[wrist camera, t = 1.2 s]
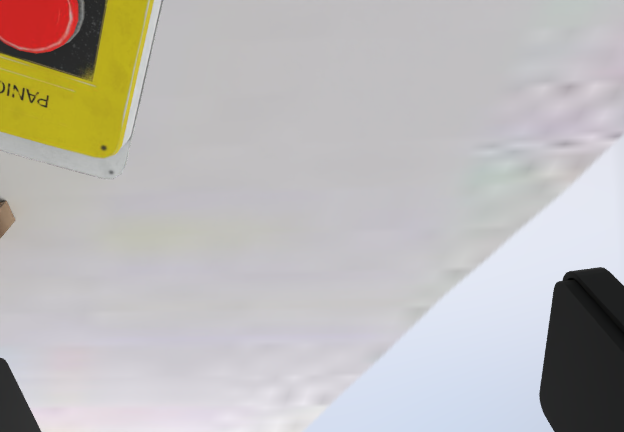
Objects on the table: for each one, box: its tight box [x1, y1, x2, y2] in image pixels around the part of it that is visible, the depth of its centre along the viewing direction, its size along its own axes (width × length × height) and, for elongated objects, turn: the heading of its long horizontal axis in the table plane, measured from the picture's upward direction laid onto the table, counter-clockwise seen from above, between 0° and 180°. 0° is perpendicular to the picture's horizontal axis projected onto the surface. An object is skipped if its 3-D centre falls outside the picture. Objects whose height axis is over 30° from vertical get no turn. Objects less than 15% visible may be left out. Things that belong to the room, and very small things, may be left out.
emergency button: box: [0, 0, 164, 179], centre depth 24 cm, size 9×4×15 cm
